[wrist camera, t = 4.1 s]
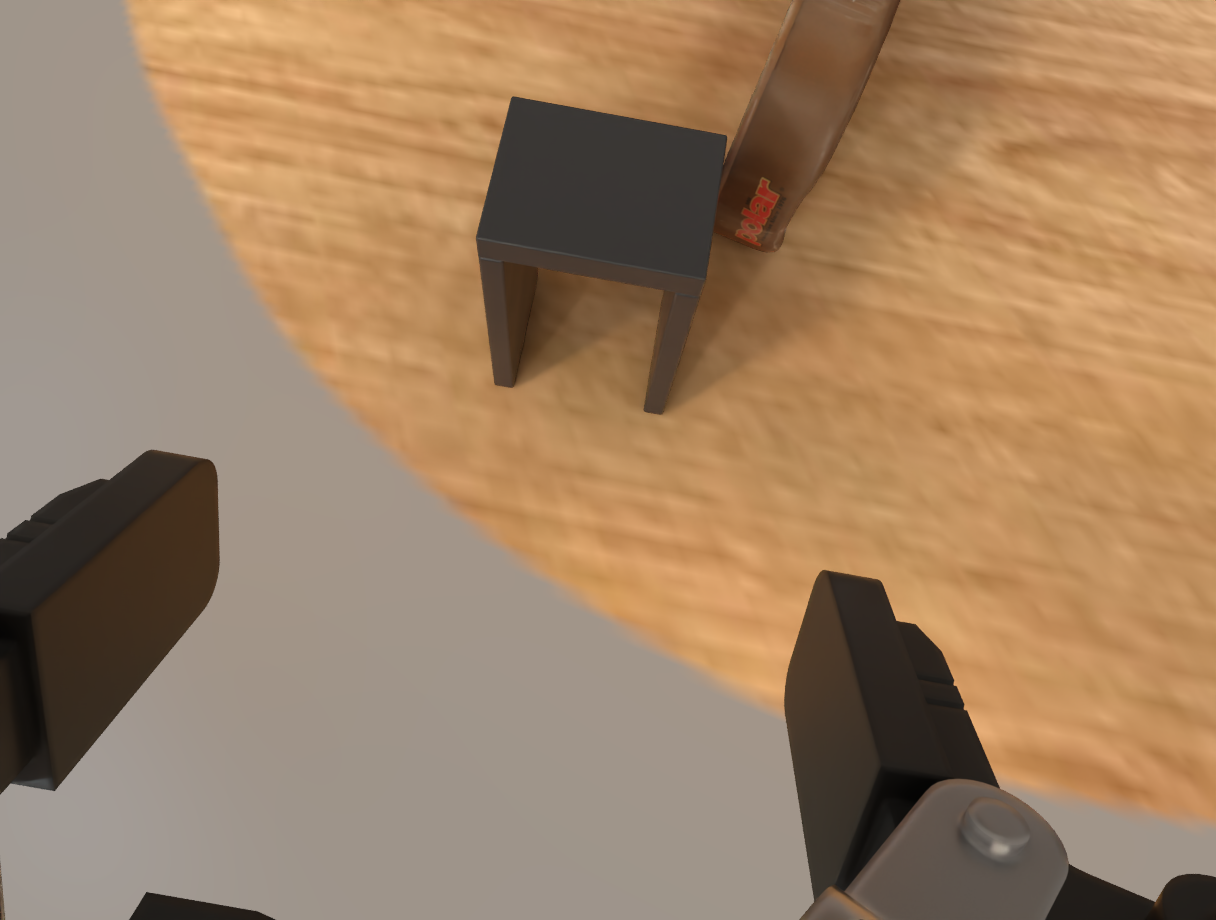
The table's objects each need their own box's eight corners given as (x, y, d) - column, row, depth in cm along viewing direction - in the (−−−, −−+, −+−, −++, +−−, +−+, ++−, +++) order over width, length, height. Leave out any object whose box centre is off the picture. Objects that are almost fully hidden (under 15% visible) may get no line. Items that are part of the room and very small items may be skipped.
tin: (813, -43, 34) (894, -290, 26) (892, -15, 34) (998, -255, 26) (675, 278, 29) (723, 91, 22) (766, 313, 29) (850, 138, 21)
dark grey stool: (680, 301, 29) (727, 134, 22) (662, 415, 28) (706, 280, 20) (520, 272, 29) (511, 95, 22) (494, 385, 28) (475, 238, 20)
